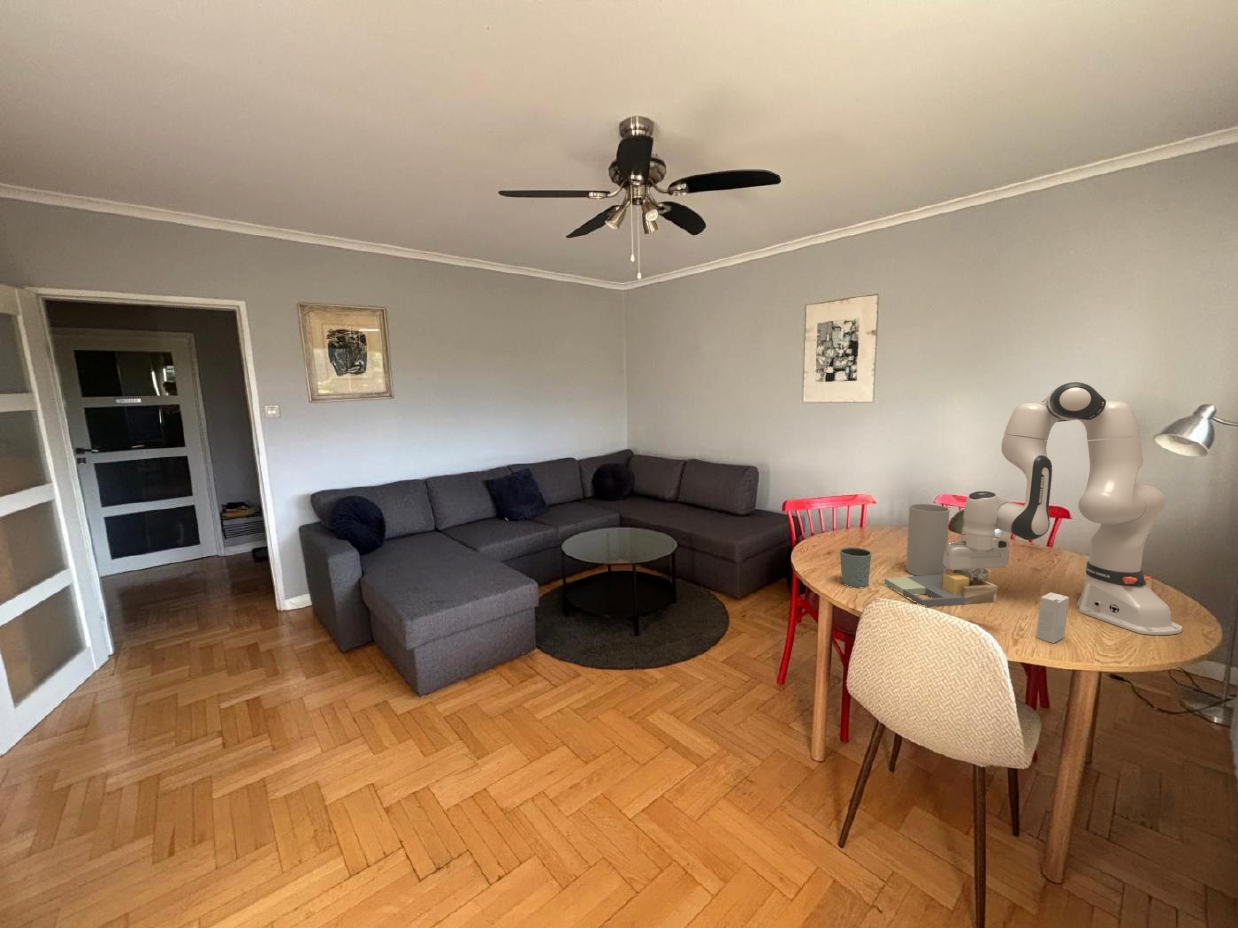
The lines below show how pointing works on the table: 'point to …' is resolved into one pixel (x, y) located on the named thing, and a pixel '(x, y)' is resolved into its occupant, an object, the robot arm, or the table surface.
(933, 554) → the cylinder vase
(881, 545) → the table surface
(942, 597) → the grey tray
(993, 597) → the brown wooden open box
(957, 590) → the ochre block
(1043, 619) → the skincare box
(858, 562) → the teal cup
